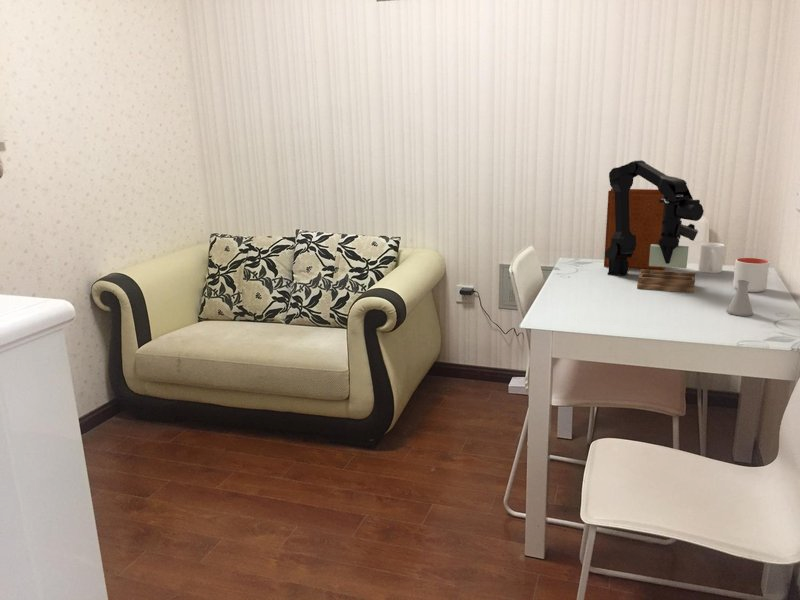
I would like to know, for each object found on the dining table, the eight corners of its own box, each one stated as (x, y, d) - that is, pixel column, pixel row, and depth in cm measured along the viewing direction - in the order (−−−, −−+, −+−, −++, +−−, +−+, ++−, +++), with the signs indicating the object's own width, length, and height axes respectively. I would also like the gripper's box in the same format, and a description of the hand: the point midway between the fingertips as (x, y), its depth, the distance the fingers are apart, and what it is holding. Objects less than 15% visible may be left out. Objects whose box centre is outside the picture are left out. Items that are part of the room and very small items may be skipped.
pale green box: (648, 265, 231) (650, 245, 229) (649, 263, 234) (651, 244, 232) (686, 268, 226) (688, 248, 224) (686, 266, 229) (688, 246, 227)
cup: (768, 294, 220) (771, 264, 217) (734, 292, 223) (738, 263, 220) (762, 287, 229) (766, 258, 226) (730, 285, 232) (734, 257, 230)
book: (603, 266, 264) (608, 190, 257) (606, 262, 272) (610, 188, 264) (665, 270, 256) (672, 192, 248) (666, 266, 263) (673, 189, 255)
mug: (723, 276, 245) (726, 248, 242) (698, 274, 248) (701, 247, 245) (721, 269, 256) (724, 243, 253) (697, 268, 259) (700, 242, 256)
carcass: (637, 288, 230) (638, 275, 229) (640, 281, 240) (640, 269, 239) (693, 292, 223) (695, 279, 222) (694, 285, 233) (695, 272, 232)
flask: (753, 311, 201) (757, 279, 198) (752, 318, 195) (756, 284, 192) (727, 308, 204) (731, 277, 202) (724, 314, 198) (728, 282, 196)
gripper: (697, 222, 214) (692, 269, 218) (698, 214, 230) (693, 258, 234) (660, 220, 218) (656, 267, 222) (663, 213, 235) (659, 256, 239)
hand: (667, 262), depth 229 cm, fingers closed on pale green box, 3 cm apart
